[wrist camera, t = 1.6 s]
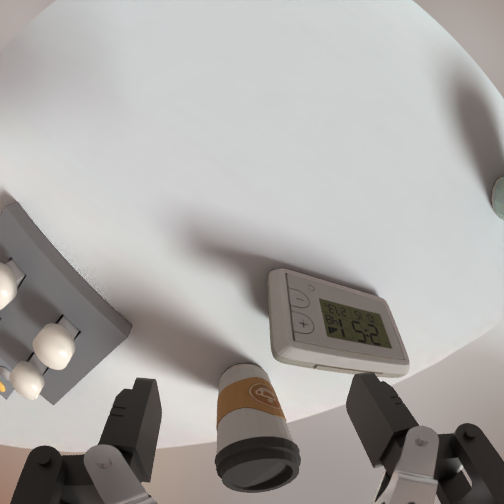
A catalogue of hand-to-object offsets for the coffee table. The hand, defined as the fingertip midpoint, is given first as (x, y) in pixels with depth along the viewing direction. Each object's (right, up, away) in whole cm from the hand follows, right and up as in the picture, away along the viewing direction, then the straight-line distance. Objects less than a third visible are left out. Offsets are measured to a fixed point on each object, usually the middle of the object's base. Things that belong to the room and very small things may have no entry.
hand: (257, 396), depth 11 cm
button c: (-21, -3, +18) cm, 28 cm away
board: (-28, -2, +19) cm, 34 cm away
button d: (-28, -9, +19) cm, 35 cm away
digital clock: (+8, 0, +23) cm, 25 cm away
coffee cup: (-1, -11, +25) cm, 28 cm away
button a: (-27, +3, +15) cm, 31 cm away
